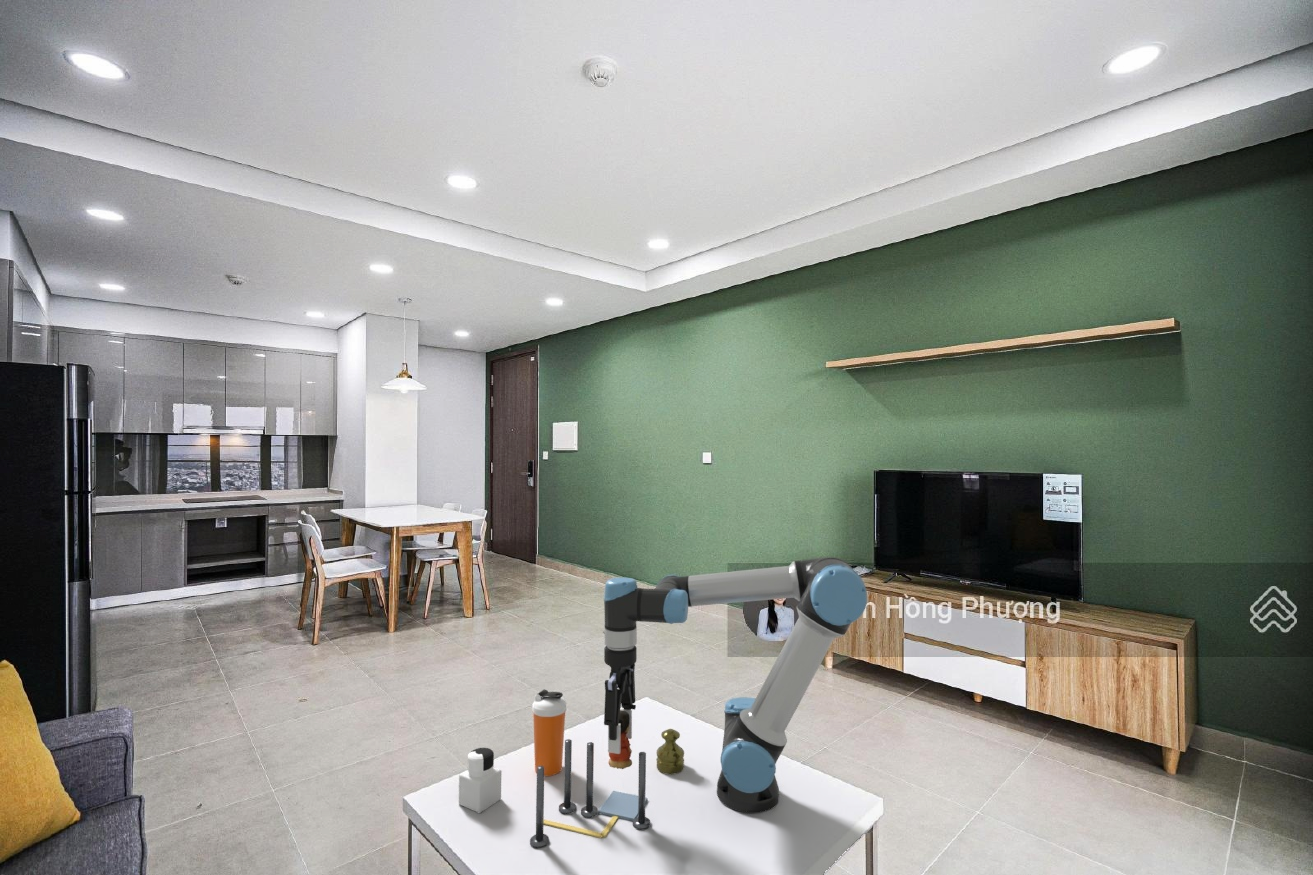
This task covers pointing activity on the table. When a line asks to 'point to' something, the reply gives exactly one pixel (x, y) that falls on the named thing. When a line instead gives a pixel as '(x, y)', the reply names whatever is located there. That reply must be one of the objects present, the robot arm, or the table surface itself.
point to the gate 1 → (564, 808)
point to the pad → (621, 806)
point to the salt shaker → (670, 753)
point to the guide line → (584, 831)
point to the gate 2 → (641, 820)
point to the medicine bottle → (480, 781)
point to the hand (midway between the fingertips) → (620, 744)
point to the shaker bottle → (549, 731)
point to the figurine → (622, 745)
